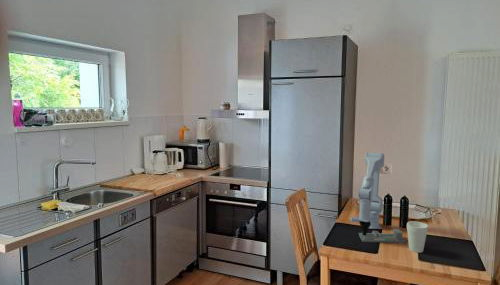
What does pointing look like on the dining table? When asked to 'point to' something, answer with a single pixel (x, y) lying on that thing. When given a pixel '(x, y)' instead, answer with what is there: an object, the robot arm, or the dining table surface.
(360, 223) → the robot arm
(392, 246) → the dining table surface
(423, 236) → the foam cup
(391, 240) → the gauge base
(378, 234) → the gauge follower
